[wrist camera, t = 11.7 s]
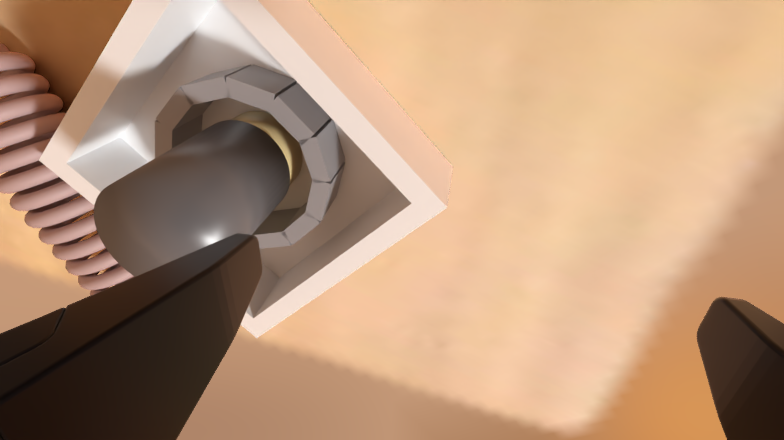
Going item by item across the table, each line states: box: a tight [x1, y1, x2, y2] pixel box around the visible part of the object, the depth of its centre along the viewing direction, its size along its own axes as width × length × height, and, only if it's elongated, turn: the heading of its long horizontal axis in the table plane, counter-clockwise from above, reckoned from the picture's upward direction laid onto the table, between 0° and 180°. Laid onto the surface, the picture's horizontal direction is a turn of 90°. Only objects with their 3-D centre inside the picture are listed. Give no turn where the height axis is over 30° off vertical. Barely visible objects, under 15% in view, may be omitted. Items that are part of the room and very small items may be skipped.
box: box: [39, 0, 453, 338], centre depth 20 cm, size 13×13×4 cm
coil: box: [0, 44, 135, 296], centre depth 23 cm, size 5×5×18 cm
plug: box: [94, 111, 303, 277], centre depth 18 cm, size 4×4×8 cm
